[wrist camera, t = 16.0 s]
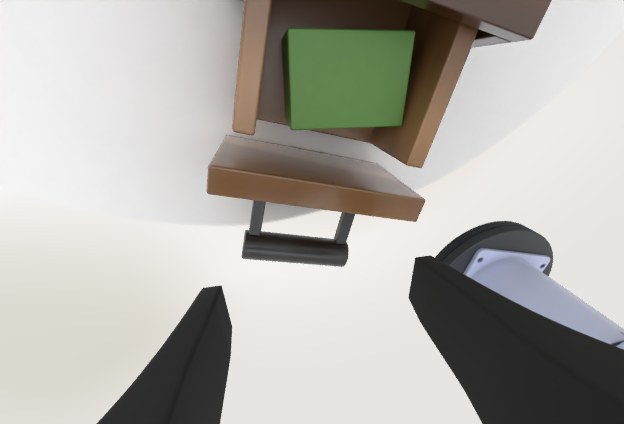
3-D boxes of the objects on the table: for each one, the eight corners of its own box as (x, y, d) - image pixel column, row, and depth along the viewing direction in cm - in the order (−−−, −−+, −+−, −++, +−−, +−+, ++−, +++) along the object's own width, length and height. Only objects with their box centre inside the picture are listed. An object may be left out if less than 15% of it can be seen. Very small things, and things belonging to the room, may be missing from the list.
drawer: (351, 241, 20) (383, 299, 15) (217, 227, 17) (200, 289, 12) (445, -40, 13) (565, -115, 8) (249, -125, 11) (237, -308, 6)
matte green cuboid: (285, 119, 14) (291, 130, 11) (281, 38, 12) (287, 27, 10) (375, 117, 15) (402, 126, 12) (383, 40, 13) (416, 30, 10)
